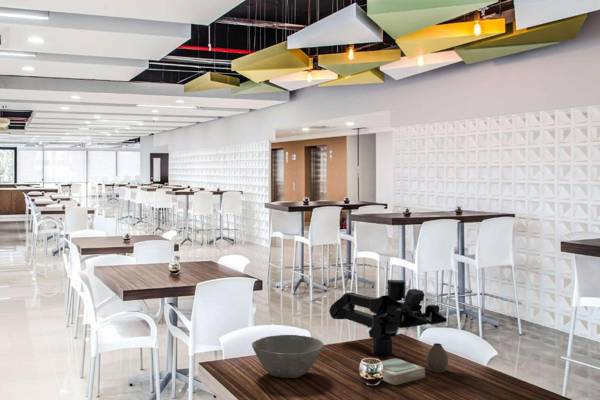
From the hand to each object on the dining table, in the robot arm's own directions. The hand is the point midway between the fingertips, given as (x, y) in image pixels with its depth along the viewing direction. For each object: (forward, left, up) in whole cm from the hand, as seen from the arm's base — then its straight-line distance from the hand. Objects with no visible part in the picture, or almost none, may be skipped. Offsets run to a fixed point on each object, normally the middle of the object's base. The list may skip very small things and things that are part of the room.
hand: (436, 321), depth 181 cm
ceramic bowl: (-25, -41, -17) cm, 51 cm away
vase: (-1, +2, -17) cm, 17 cm away
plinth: (-5, -13, -17) cm, 22 cm away
